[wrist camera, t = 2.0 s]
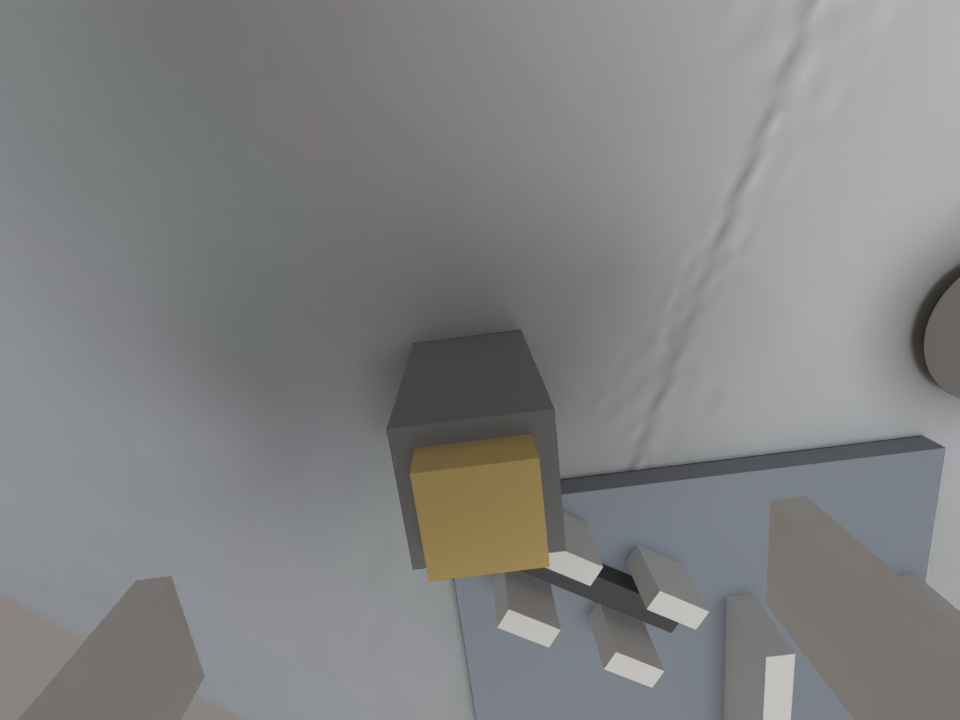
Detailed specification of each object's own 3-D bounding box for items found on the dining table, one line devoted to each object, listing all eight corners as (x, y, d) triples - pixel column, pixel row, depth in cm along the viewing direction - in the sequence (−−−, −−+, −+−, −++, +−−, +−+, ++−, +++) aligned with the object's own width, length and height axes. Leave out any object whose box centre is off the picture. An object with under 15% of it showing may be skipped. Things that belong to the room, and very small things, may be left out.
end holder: (726, 596, 26) (766, 657, 22) (914, 573, 25) (982, 631, 22) (723, 737, 28) (758, 810, 25) (893, 716, 28) (951, 787, 25)
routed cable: (489, 541, 24) (491, 559, 23) (502, 520, 24) (504, 537, 23) (662, 613, 26) (671, 633, 25) (675, 594, 25) (685, 613, 24)
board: (443, 494, 25) (440, 552, 21) (923, 435, 25) (1012, 483, 21) (484, 750, 30) (487, 838, 26) (886, 702, 29) (952, 783, 25)
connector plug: (413, 343, 23) (378, 453, 13) (520, 330, 23) (563, 430, 13) (429, 440, 24) (408, 604, 14) (530, 428, 24) (575, 584, 14)
